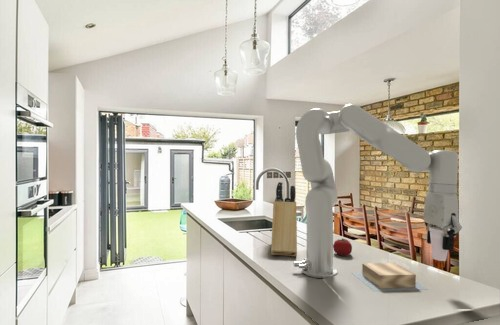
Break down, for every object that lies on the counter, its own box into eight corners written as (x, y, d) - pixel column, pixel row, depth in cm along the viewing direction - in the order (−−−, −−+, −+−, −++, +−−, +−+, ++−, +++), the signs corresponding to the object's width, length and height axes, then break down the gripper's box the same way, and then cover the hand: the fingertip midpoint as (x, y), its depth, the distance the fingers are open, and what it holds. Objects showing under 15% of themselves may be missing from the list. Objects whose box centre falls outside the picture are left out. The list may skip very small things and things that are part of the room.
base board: (374, 292, 95) (374, 291, 95) (351, 274, 111) (351, 273, 111) (428, 291, 97) (428, 289, 97) (398, 273, 113) (398, 271, 113)
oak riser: (380, 288, 97) (380, 275, 97) (362, 274, 109) (362, 263, 109) (415, 287, 99) (415, 274, 99) (394, 273, 111) (394, 262, 111)
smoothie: (442, 256, 100) (444, 213, 100) (456, 262, 94) (458, 217, 94) (423, 255, 100) (425, 212, 100) (435, 262, 94) (437, 216, 94)
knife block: (295, 239, 164) (295, 181, 164) (297, 259, 129) (298, 185, 129) (273, 238, 165) (274, 181, 166) (270, 257, 130) (271, 184, 131)
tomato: (351, 258, 131) (352, 241, 132) (332, 256, 134) (332, 239, 134) (352, 253, 139) (352, 237, 139) (333, 251, 142) (333, 235, 142)
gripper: (413, 186, 105) (411, 239, 105) (452, 192, 88) (449, 254, 88) (434, 187, 106) (431, 239, 106) (476, 192, 89) (473, 255, 89)
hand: (439, 245), depth 97 cm, fingers closed on smoothie, 6 cm apart
